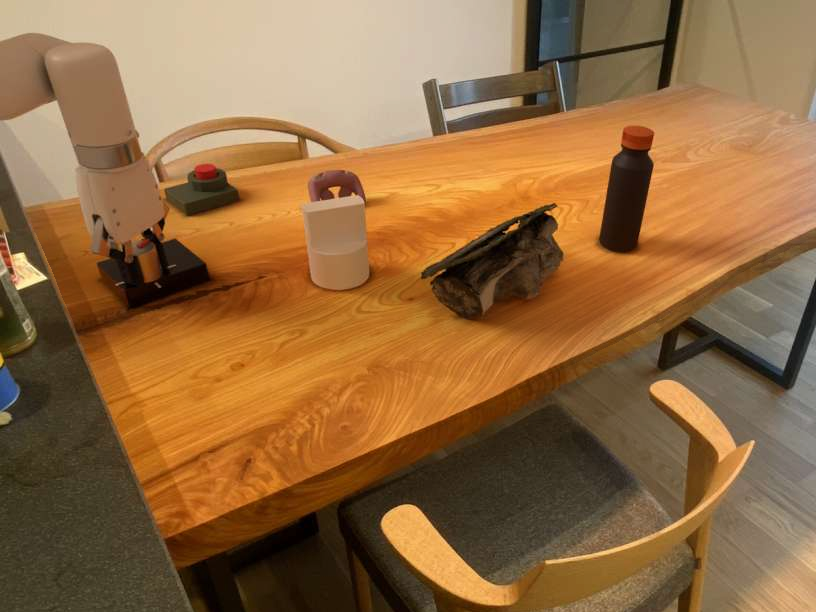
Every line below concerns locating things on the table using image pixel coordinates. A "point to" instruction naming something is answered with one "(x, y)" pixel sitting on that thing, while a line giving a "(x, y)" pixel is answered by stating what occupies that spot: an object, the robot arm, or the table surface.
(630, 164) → the bottle
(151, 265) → the dial
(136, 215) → the robot arm
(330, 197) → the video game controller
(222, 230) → the table surface
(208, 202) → the button box
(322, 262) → the cylinder with rectangular tab
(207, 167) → the button
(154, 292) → the panel
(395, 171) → the table surface
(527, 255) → the driftwood chunk
